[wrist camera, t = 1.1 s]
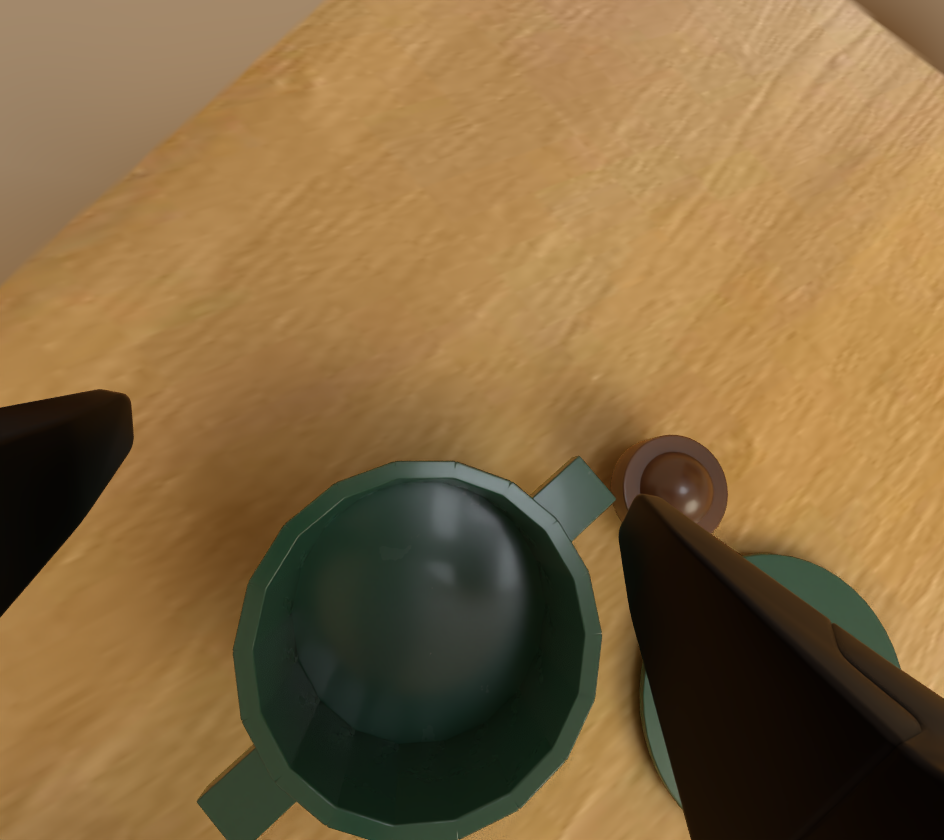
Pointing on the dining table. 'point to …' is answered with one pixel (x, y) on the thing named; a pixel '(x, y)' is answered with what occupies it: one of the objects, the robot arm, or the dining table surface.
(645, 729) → the lid
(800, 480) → the dining table surface
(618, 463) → the mushroom
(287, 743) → the pot
